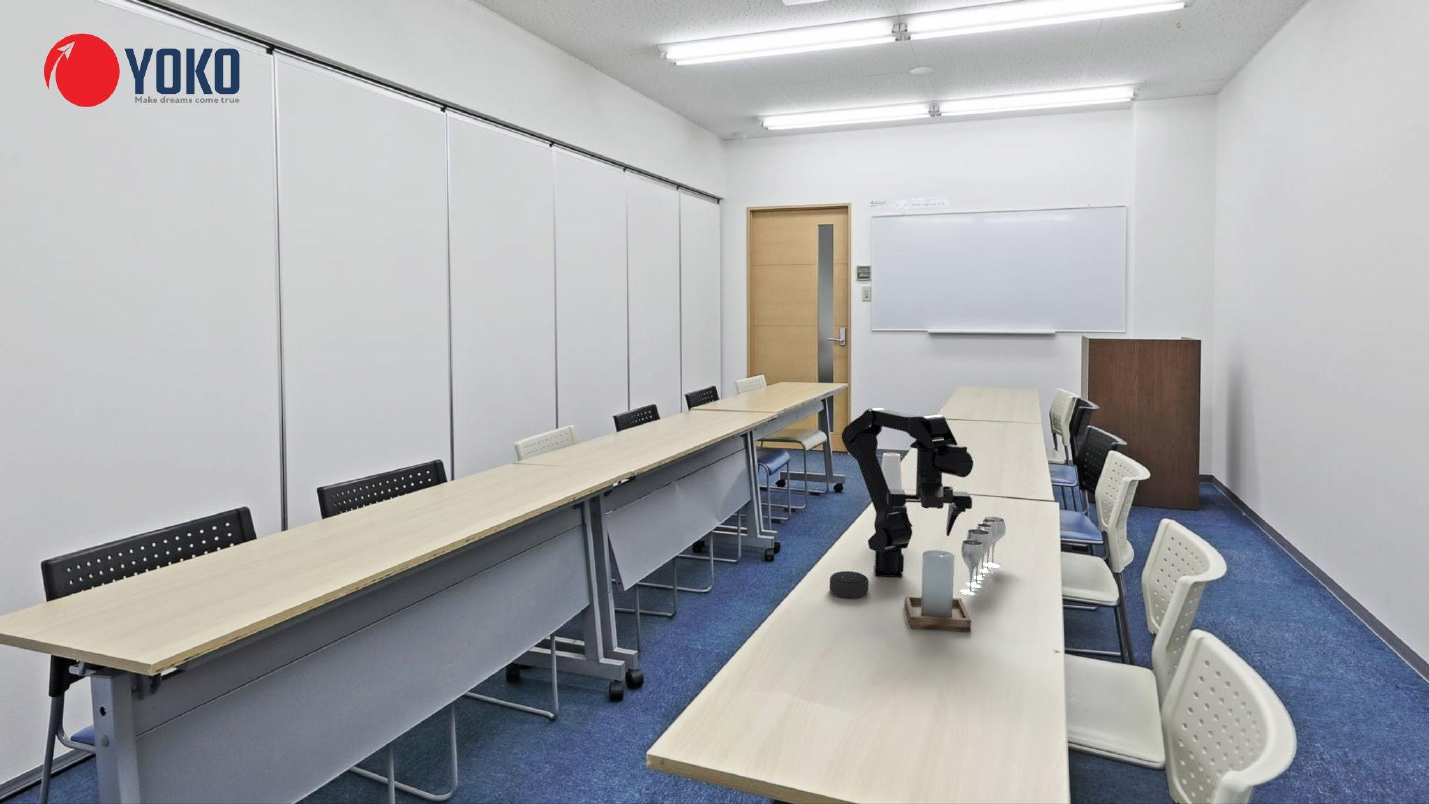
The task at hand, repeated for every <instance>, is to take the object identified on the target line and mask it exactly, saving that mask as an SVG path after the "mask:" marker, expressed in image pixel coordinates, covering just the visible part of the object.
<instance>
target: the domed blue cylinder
mask: <svg viewBox="0 0 1429 804" xmlns="http://www.w3.org/2000/svg"><path fill="white" fill-rule="evenodd" d="M921 570H922V572H921V574H922V575H921V614H922V615H923V616H929V617H948V618H951V617H952V606H953V598H954V576H955V555H954V554H953V553H952V552H949V551H945V550H937V549H936V550H935V549H934V550H933V549H932V550H931V549H929V550H926V551H924V552H923V553H922V569H921Z"/></svg>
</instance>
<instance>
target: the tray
mask: <svg viewBox="0 0 1429 804" xmlns="http://www.w3.org/2000/svg"><path fill="white" fill-rule="evenodd" d="M904 609H905V612H906V616H907V621H908V625H909V628H910V629H912V630H926V631H927V630H928V631H945V632H946V631H947V632H965V633H971V632H972V618H971V617H970V615H969V612H968V610H967V608H966V606H965V604H964V602H963V599H962V598H957V597H953V606H952V617H951V618H948V617H929V616H923V615H922V614H921V596H919V595H905V596H904Z"/></svg>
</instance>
